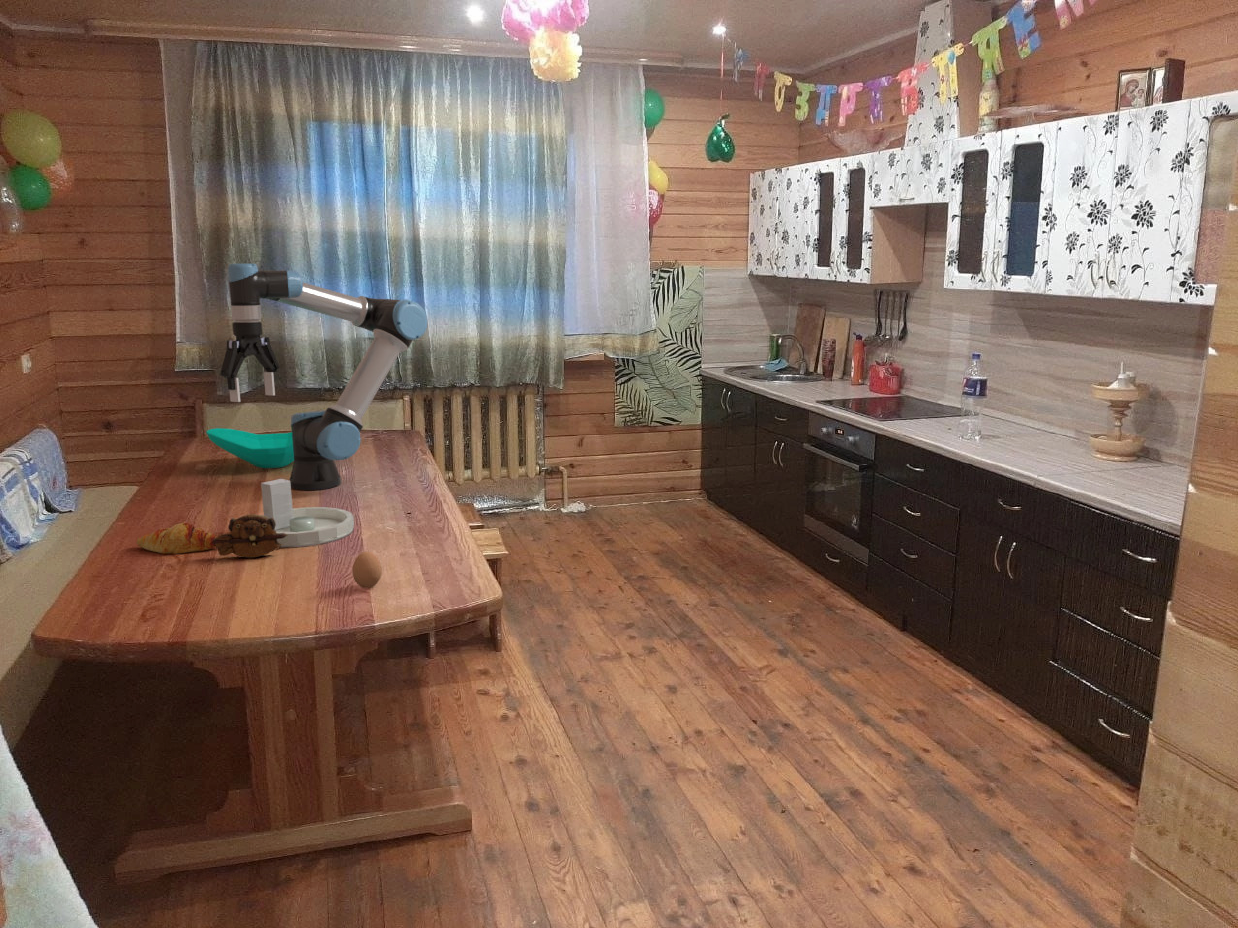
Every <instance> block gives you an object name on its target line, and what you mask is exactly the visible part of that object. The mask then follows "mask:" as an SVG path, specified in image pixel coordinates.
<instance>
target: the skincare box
mask: <svg viewBox="0 0 1238 928" xmlns="http://www.w3.org/2000/svg"><path fill="white" fill-rule="evenodd" d="M260 488H261V498H262V509H263V515H264V516H265V517H267V518H272V517H273V519H274V520H275V523H276V526H275V530H277V529H281V528H285V527H289V526H290V524H289V520H290V519H293V509H294V507H293V498H292V497H293V496H292V488H291V484H290V479H289V480H288V479H284V478H279V479H274V480H269V481H264V482H260Z"/></svg>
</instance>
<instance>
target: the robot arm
mask: <svg viewBox="0 0 1238 928" xmlns="http://www.w3.org/2000/svg"><path fill="white" fill-rule="evenodd" d="M227 283H228V291H229V299H230V310H231V311H230V312H231V320H232V321H234V322H232V324H231V326H232V334H233V336H235V340H227V341H226V350H225V354H224V358H223V362H222V366H221V370H220V373H219V375H220V376H221V377H223V378H226V381H227V389H228V390H229V399H230V400H229V401H230V402H235V403H241V393H240V382H239V377H237V375H238V373H239V371H240V369H241V366H242V365H243V363H244V361H245V359H246V358H247V357H249V356H254V357H255V358H256V359H257V360H258V362H259V363H260V364H261V366H262V367H263V369H264V370H265V371H263V379H264V391H265V393H264V395H265V396H272V397H273V396H276V391H275V390H276V389H275V383H276V382H275V381H276V378H275V376H276V375H275V373H277V372H278V370H279V369H280V364H279V362H278V360H277V358H276V355H275V353H274V351H273V348H272V346H271V343H270V338H269V337H267V336H266V337H265V336H262V335H263V324H262V322H261V320H262V308H261V299H262V300H263V299H266V300H270V301H273V302H274V301H275V302H279V303H282V304H285V305H288V306H292V307H297V308H300V309H304V310H308V311H311V312H315V313H319V314H322V315H326V316H330V317H332V318H336V319H340V320H343V321H348V322H351V324H352V325H353V326H354V327H357V328H361V329H363V330H364V329H365V330H367V331H370V332H373V336H374V339H373V340H372V342H371V343H370V345H369V347H368V348H367V350H366V352H365V353H364V356H363V357H362V359H361V361H360V362H359V364H358V366H357V368H356V369H355V371H354V372H353V374H352V376H351V378H350V379H349V381H348V383H347V385H346V386H345V388H344V389H343V392H341V395H340V396H339V398H338V400H337V401H336V403H335V404H334V405H331V406H328V407H327V408H326V409H325V410H315V411H307V412H306V411H305V412H296V413H294V414H292V415H291V418H290V419H291V421H290V428H291V432H292V441H293V453H294V461H293V465H292V469H291V473H290V477H289V481H290V484H291V489H293V490H297V491H318V490H327V489H331V488H335V487H338V486H340V485H341V484H342V479H341V477H342V476H341V474H340V473H339V470H338V467H337V464H336V462H335V461H344V460H347V459H350V458H351V457H353V456H354V455H355V454H356V452H357V451H358V450H359V449H360V446H361V440H362V439H361V432H362V429H363V427H364V424H363V421H362V420H363V417H364V415H365V413H366V412H367V411H368V409H369V407H370V405H371V403H372V401H374V398H375V396H376V394H377V393H378V392H379V389H380V387H382V384H383V382H384V381H385V379H386V378H387V375H388V373H389V372H390V370H391V368H392V367H393V365H394V364H395V361H396V360H397V358H398V357H399V355H400V353H402V352H406V351H408V349H409V348H410V347H411V344H412V343H413V341H415V340H418V339H420V338H421V337H422V336H423V335H424V334H425V333H426V331H427V327H428V318H427V313H426V311H425V309H424V308H423V306H421V305H420V304H419V302H418V303H417V302H416V301H414V300H409V299H391V298H373V297H372V298H371V297H367V296H363V295H360V296H358V297H355V296H351V295H349V294H345V293H342V292H338V291H335V290H332V289H327V288H324V287H320V286H317V285H313V284H310V283H306V282H304V281H303V278H302V276H301V274H300V272H298V271H296V270H288V269H285V270H262V269H261V270H260V269H258V265H257V264H256V263H230V264H229V265H228V266H227Z"/></svg>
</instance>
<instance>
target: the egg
mask: <svg viewBox="0 0 1238 928" xmlns="http://www.w3.org/2000/svg"><path fill="white" fill-rule="evenodd" d="M351 573H352V577H353V580H354V582H355V583H356V584H357V586H359V587H362V588H365V589H370V588H373V587H374V586H376V585H377V584H378V582H379V581H380V580H381V577H382V565H381V562H380V560H379V559H378V557H377V555H375V554H374V553H372V552H371V551H363V552H361V553H359V554H358V555H357V556H356V557H355V559H354V562H353V564H352V572H351Z"/></svg>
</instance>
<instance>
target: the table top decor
mask: <svg viewBox="0 0 1238 928" xmlns="http://www.w3.org/2000/svg"><path fill="white" fill-rule="evenodd" d="M205 433H206V435H207V437H208V438H209V441H211V442H212V443H213V444H214V445H216V446H218V447H219V448H221V449H222V450H224V451H226V452H227V453H229V454H231V455H233V456H234V457H237V458H239V459H241V460H243V461H244V462H247V463H249V464H250V465H253V466H255V467H257V468H259V469H279V468H284V467H286V466H289V465H290V464H291V463H294V453H293V441H292V431H289V432H283V433H282V432H279V433H264V434H263V433H259V434H257V433H253V432H249V431H244V430H239V429H234V428H233V429H232V428H221V427H215V428H210V429H208V430H206V431H205Z"/></svg>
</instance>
